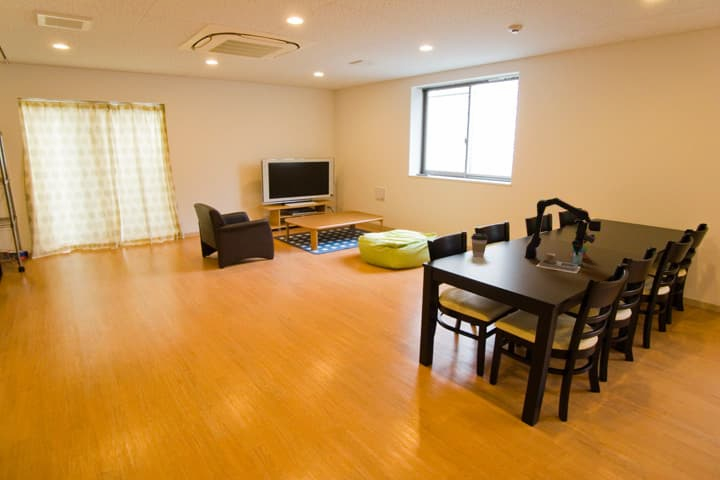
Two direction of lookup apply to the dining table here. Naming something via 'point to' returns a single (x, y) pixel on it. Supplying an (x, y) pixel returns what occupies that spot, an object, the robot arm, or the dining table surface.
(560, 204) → the robot arm
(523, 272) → the dining table surface
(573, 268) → the tray
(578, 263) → the teal cylinder
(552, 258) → the walnut block
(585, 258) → the stacking bear
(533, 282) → the dining table surface
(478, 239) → the coffee cup
